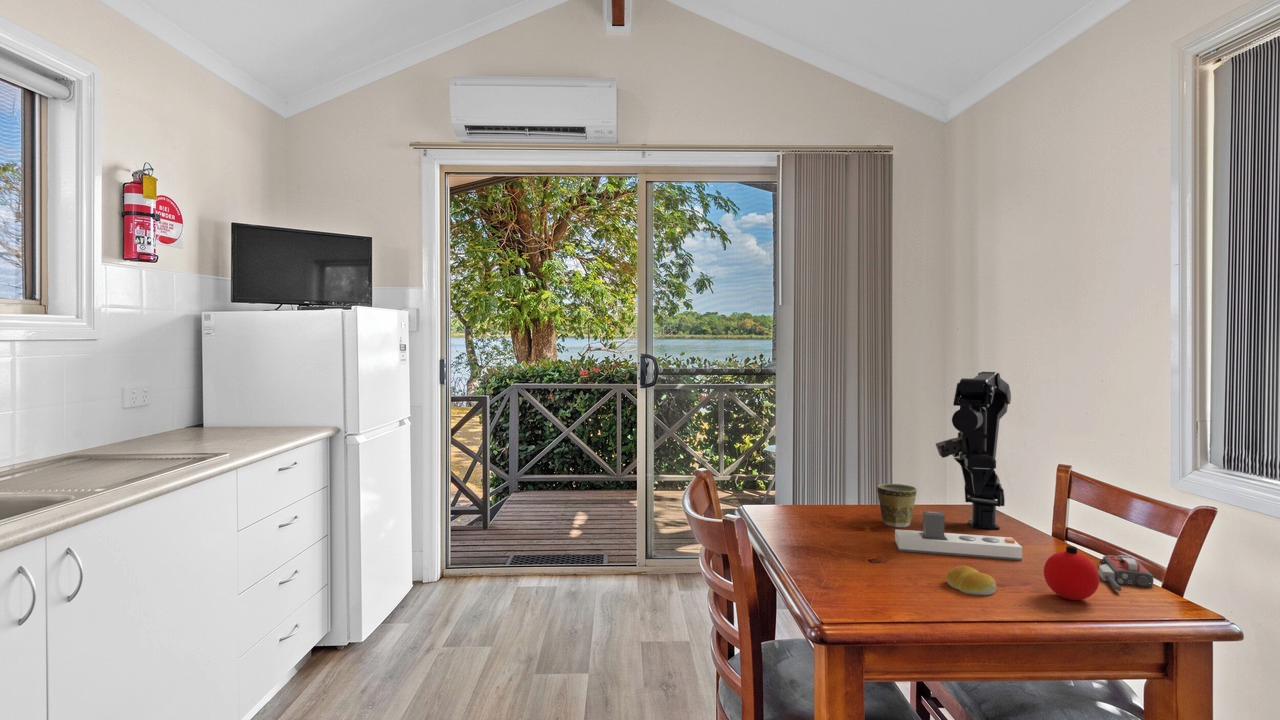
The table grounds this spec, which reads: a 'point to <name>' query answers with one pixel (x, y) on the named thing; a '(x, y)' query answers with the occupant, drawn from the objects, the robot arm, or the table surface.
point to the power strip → (959, 545)
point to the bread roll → (971, 581)
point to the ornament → (1071, 574)
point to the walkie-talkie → (1124, 571)
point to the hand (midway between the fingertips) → (972, 490)
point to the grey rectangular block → (933, 525)
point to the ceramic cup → (896, 503)
